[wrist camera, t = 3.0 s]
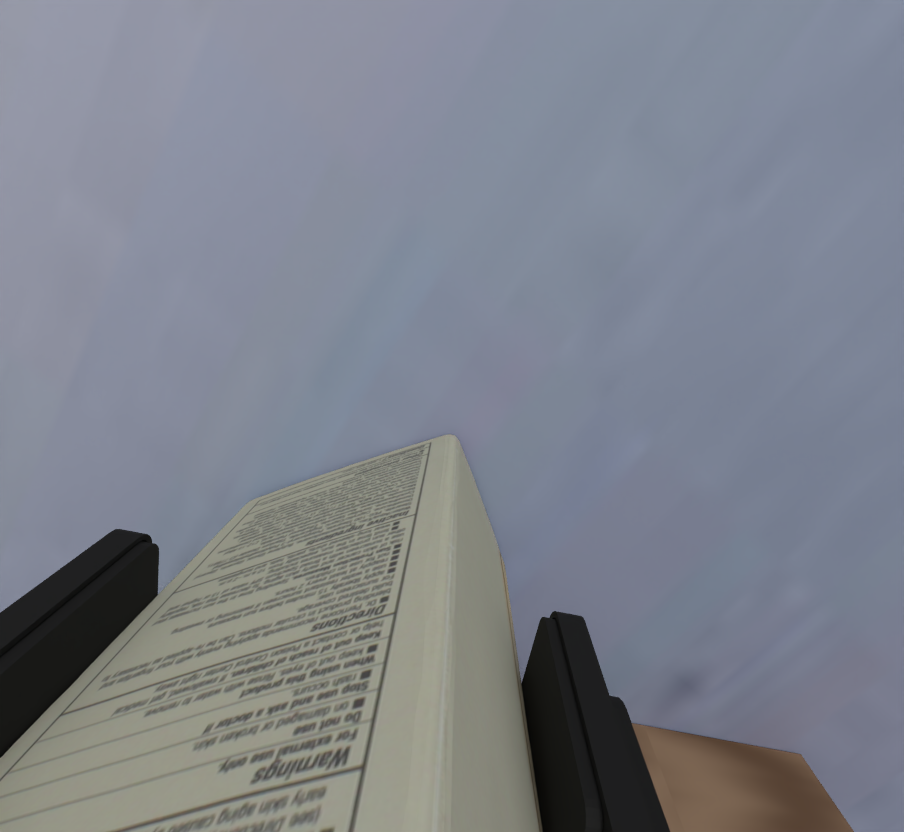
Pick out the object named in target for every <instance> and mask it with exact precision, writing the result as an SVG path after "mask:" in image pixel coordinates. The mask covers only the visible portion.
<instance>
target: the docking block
mask: <svg viewBox="0 0 904 832" xmlns="http://www.w3.org/2000/svg"><path fill="white" fill-rule="evenodd" d="M632 726H633V729H634V731H635V734H636V737H637V740H638V743H639V745H640V748H641V751H642V754H643V757H644V759H645V762H646V765H647V768H648V771H649V773H650V776H651V779H652V782H653V785H654V787H655V790H656V793H657V796H658V799H659V801H660V804H661V807H662V810H663V812H664V815H665V818H666V821H667V824H668V826H669V829H670V832H854V831H853V830H852V828H851V827H850V825H849V824H848V822H847V821H846V819H845V818H844V817H843V815H842V814H841V812H840V811H839V809H838V808H837V806H836V805H835V803H834V802H833V801H832V799H831V798H830V796H829V795H828V793H827V792H826V790H825V789H824V787H823V786H822V784H821V783H820V782H819V780H818V779H817V777H816V776H815V774H814V773H813V771H812V770H811V768H810V767H809V765H808V764H807V763H806V761H805V760H804V758H803V757H802V755H801V754H796V753H791V752H785V751H780V750H774V749H769V748H763V747H758V746H753V745H747V744H742V743H736V742H731V741H725V740H720V739H715V738H709V737H704V736H698V735H693V734H687V733H682V732H677V731H671V730H666V729H660V728H655V727H649V726H644V725H639V724H633V723H632Z"/></svg>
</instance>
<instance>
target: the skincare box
mask: <svg viewBox="0 0 904 832" xmlns="http://www.w3.org/2000/svg"><path fill="white" fill-rule="evenodd" d="M0 832H543V829H542V823H541V816H540V810H539V803H538V796H537V789H536V782H535V775H534V768H533V761H532V754H531V747H530V741H529V735H528V728H527V721H526V714H525V706H524V699H523V691H522V685H521V678H520V671H519V664H518V657H517V650H516V643H515V636H514V629H513V622H512V615H511V608H510V600H509V593H508V586H507V578H506V571H505V565H504V562H503V559H502V556H501V554H500V551H499V547H498V544H497V541H496V539H495V536H494V533H493V530H492V527H491V524H490V521H489V518H488V516H487V513H486V510H485V508H484V505H483V502H482V499H481V497H480V494H479V491H478V489H477V486H476V483H475V480H474V478H473V475H472V472H471V470H470V467H469V465H468V462H467V460H466V457H465V455H464V452H463V450H462V447H461V445H460V442H459V440H458V439H457V437H456V436H454V435H450V434H448V435H443V436H440V437H437V438H434V439H430V440H427V441H424V442H421V443H418V444H415V445H411V446H408V447H405V448H401V449H398V450H395V451H392V452H389V453H386V454H383V455H380V456H377V457H374V458H371V459H368V460H365V461H362V462H359V463H356V464H352V465H350V466H347V467H344V468H341V469H338V470H335V471H332V472H329V473H326V474H323V475H320V476H317V477H314V478H311V479H308V480H306V481H303V482H300V483H297V484H294V485H291V486H288V487H286V488H283V489H280V490H278V491H275V492H272V493H270V494H267V495H264V496H261V497H258V498H256V499H254V500H251V501H250V502H248V503H247V504H246V505H245V506H244V507H243V508H242V509H241V510H240V511H239V512H238V513H237V514H236V515H235V516H234V517H233V518H232V519H231V520H230V521H229V522H228V523H227V524H226V525H225V526H224V527H223V528H222V529H221V531H220V532H219V533H218V534H217V535H216V536H215V537H214V538H213V539H212V540H211V541H210V542H209V543H208V544H207V545H206V546H205V547H204V548H203V549H202V550H201V551H200V552H199V553H198V554H197V555H196V556H195V558H194V559H193V560H192V561H191V562H190V563H189V564H188V565H187V566H186V567H185V568H184V569H183V570H182V571H181V572H180V573H179V574H178V575H177V576H176V577H175V578H174V579H173V580H172V581H171V582H170V583H169V584H168V585H167V586H166V587H165V588H164V589H163V590H162V591H161V592H160V593H159V594H158V595H157V596H156V597H155V599H154V600H153V601H152V602H151V603H150V604H149V605H148V606H147V607H146V608H145V609H144V610H143V611H142V612H141V613H140V614H139V615H138V616H137V617H136V618H135V619H134V620H133V621H132V622H131V623H130V625H129V626H128V627H127V628H126V629H125V630H124V631H123V632H122V633H121V634H120V635H119V636H118V637H117V638H116V639H115V640H114V641H113V642H112V643H111V644H110V645H109V646H108V647H107V648H106V649H105V650H104V651H103V653H102V654H101V655H100V656H99V657H98V658H97V659H96V660H95V661H94V662H93V663H92V664H91V665H90V666H89V667H88V668H87V669H86V670H85V671H84V672H83V673H82V674H81V675H80V677H79V678H78V679H77V680H76V681H75V682H74V683H73V684H72V685H71V686H70V687H69V688H68V689H67V690H66V691H65V692H64V693H63V694H62V695H61V696H60V697H59V698H58V699H57V700H56V701H55V702H54V703H53V704H52V705H51V706H50V707H49V708H48V709H47V710H46V711H45V712H44V713H43V714H42V715H41V717H40V718H39V719H38V720H37V721H36V722H35V723H34V724H33V725H32V726H31V727H30V728H29V729H28V730H27V731H26V732H25V733H24V734H23V735H22V736H21V737H20V738H19V739H18V740H17V741H16V742H15V743H14V744H13V745H12V747H11V748H10V749H9V750H8V751H7V752H6V753H5V754H4V755H3V756H2V757H1V758H0Z"/></svg>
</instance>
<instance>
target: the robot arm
mask: <svg viewBox="0 0 904 832" xmlns="http://www.w3.org/2000/svg"><path fill="white" fill-rule="evenodd" d="M158 565H159V548H158V546H157V545H156V544H153V543H152V539H151V537H150V536H149V535H147V534H143V533H138V532H132V531H127V530H122V529H115V530H114V531H112V532H110V533H109V534H107V535H106V536H105V537H103V538H102V539H101V540H99V541H98V542H96V543H95V544H94V545H92V546H91V547H90V548H88V549H87V550H85V551H84V552H83V553H81V554H80V555H79V556H77V557H76V558H75V559H73V560H72V561H70V562H69V563H68V564H66V565H65V566H64V567H62V568H61V569H60V570H58V571H57V572H55V573H54V574H53V575H51V576H50V577H49V578H47V579H46V580H44V581H43V582H42V583H40V584H39V585H38V586H36V587H35V588H34V589H32V590H31V591H29V592H28V593H27V594H25V595H24V596H23V597H21V598H20V599H18V600H17V601H16V602H14V603H13V604H12V605H10V606H9V607H8V608H6V609H5V610H3V611H2V612H1V613H0V758H1V757H2V756H3V755H4V754H5V753H6V752H7V751H8V750H9V749H10V748H11V747H12V745H13V744H14V743H15V742H16V741H17V740H18V739H19V738H20V737H21V736H22V735H23V734H24V733H25V732H26V731H27V730H28V729H29V728H30V727H31V726H32V725H33V724H34V723H35V722H36V721H37V720H38V719H39V718H40V717H41V715H42V714H43V713H44V712H45V711H46V710H47V709H48V708H49V707H50V706H51V705H52V704H53V703H54V702H55V701H56V700H57V699H58V698H59V697H60V696H61V695H62V694H63V693H64V692H65V691H66V690H67V689H68V688H69V687H70V686H71V685H72V684H73V683H74V682H75V681H76V680H77V679H78V678H79V677H80V675H81V674H82V673H83V672H84V671H85V670H86V669H87V668H88V667H89V666H90V665H91V664H92V663H93V662H94V661H95V660H96V659H97V658H98V657H99V656H100V655H101V654H102V653H103V651H104V650H105V649H106V648H107V647H108V646H109V645H110V644H111V643H112V642H113V641H114V640H115V639H116V638H117V637H118V636H119V635H120V634H121V633H122V632H123V631H124V630H125V629H126V628H127V627H128V626H129V625H130V623H131V622H132V621H133V620H134V619H135V618H136V617H137V616H138V615H139V614H140V613H141V612H142V611H143V610H144V609H145V608H146V607H147V606H148V605H149V604H150V603H151V602H152V601H153V600H154V599H155V597H156V596H157V595H158ZM521 685H522V691H523V699H524V706H525V714H526V721H527V728H528V735H529V741H530V747H531V754H532V761H533V768H534V775H535V782H536V789H537V796H538V803H539V810H540V816H541V823H542V829H543V832H670V829H669V826H668V824H667V821H666V818H665V815H664V812H663V810H662V807H661V804H660V801H659V799H658V796H657V793H656V790H655V787H654V785H653V782H652V779H651V776H650V773H649V771H648V768H647V765H646V762H645V759H644V757H643V754H642V751H641V748H640V745H639V743H638V740H637V737H636V734H635V731H634V729H633V726H632V723H631V720H630V717H629V715H628V712H627V709H626V707H625V705H624V703H623V701H622V700H621V699H620V698H619V697H613V696H609V693H608V690H607V687H606V684H605V681H604V678H603V675H602V672H601V669H600V665H599V662H598V659H597V656H596V653H595V650H594V647H593V644H592V641H591V638H590V635H589V632H588V629H587V626H586V623H585V620H584V618H583V617H582V616H577V615H572V614H567V613H562V612H556V611H554V612H552V614H551V616H550V618H546V617H542V618H541V620H540V623H539V626H538V629H537V633H536V636H535V640H534V643H533V647H532V650H531V653H530V657H529V660H528V664H527V667H526V671H525V674H524V677H523V681H522V684H521Z"/></svg>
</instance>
